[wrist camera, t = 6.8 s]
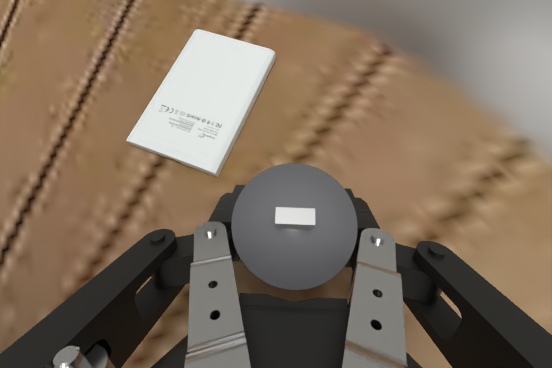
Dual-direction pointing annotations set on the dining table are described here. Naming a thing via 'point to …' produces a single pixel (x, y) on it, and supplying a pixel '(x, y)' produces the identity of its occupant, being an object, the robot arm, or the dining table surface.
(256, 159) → the dining table surface
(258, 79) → the external hard drive
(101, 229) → the dining table surface
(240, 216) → the grey upright cylinder
